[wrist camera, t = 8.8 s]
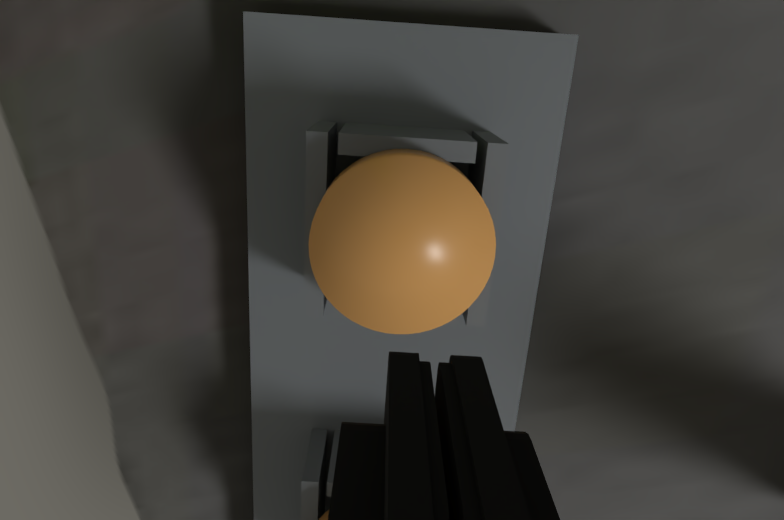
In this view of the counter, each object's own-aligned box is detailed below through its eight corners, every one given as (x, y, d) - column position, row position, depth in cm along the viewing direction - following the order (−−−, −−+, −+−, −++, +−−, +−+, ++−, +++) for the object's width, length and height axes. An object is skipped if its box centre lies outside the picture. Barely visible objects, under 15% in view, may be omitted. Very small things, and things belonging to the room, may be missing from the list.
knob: (327, 130, 25) (310, 149, 19) (480, 140, 25) (507, 162, 19) (323, 275, 27) (307, 329, 21) (464, 283, 27) (484, 339, 22)
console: (254, 15, 25) (215, 1, 19) (564, 36, 25) (615, 29, 20) (262, 563, 36) (238, 658, 30) (481, 573, 36) (499, 668, 30)
